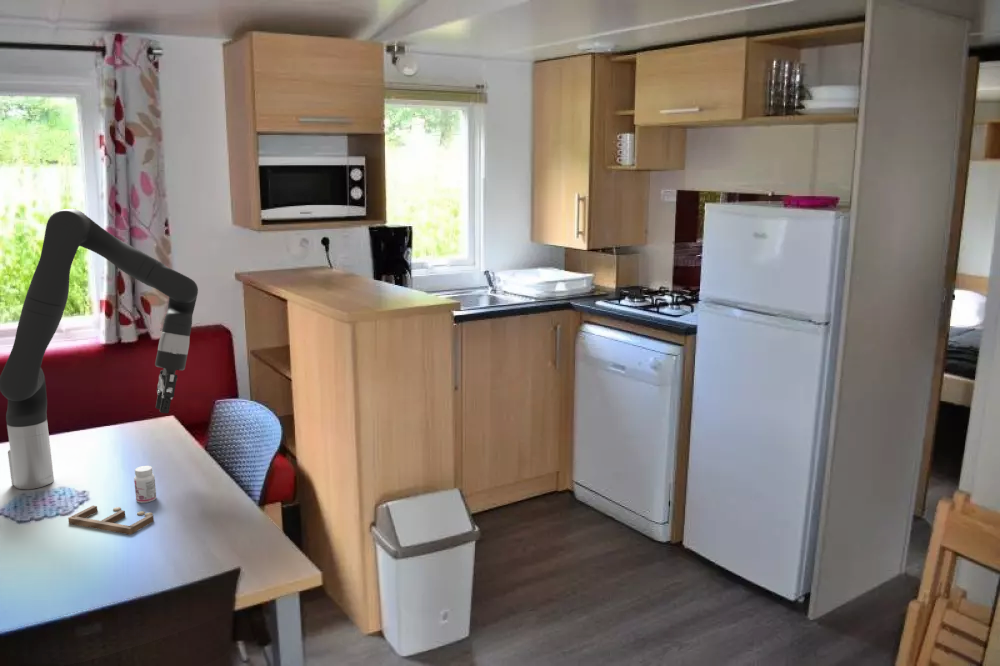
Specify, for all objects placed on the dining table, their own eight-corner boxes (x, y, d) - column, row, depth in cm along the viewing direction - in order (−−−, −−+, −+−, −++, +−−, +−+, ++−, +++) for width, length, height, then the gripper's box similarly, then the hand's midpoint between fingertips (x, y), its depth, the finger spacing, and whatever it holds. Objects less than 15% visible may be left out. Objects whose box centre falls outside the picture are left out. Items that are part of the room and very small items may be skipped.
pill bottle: (131, 501, 208) (129, 469, 206) (147, 494, 212) (144, 463, 210) (144, 504, 206) (141, 473, 204) (160, 498, 210) (157, 467, 208)
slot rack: (68, 523, 195) (68, 517, 195) (104, 505, 205) (103, 500, 205) (130, 534, 189) (129, 528, 189) (163, 515, 199) (163, 510, 199)
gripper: (154, 347, 223) (143, 406, 222) (161, 350, 211) (149, 412, 210) (183, 351, 227) (172, 409, 226) (191, 354, 214) (180, 416, 213)
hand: (161, 411), depth 218 cm, fingers open, 8 cm apart
